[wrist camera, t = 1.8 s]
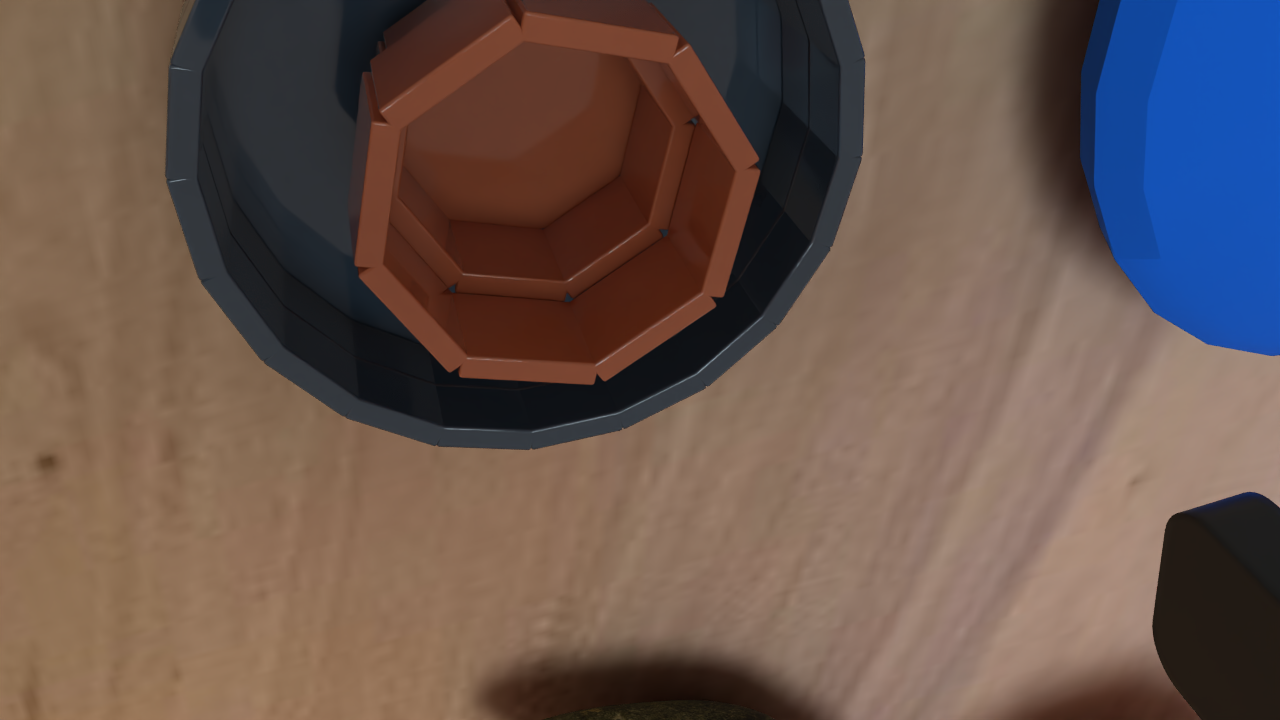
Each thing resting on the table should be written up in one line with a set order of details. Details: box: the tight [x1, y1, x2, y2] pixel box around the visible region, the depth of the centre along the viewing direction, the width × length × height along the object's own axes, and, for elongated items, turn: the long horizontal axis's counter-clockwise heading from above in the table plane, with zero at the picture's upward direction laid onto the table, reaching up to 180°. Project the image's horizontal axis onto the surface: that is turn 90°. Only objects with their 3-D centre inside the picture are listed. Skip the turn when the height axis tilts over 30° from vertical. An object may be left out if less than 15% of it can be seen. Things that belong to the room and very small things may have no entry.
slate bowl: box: [165, 0, 865, 450], centre depth 22 cm, size 12×12×4 cm
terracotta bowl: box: [347, 0, 760, 385], centre depth 21 cm, size 6×6×5 cm
